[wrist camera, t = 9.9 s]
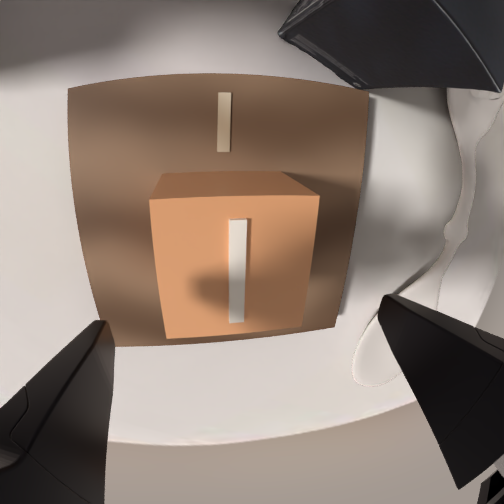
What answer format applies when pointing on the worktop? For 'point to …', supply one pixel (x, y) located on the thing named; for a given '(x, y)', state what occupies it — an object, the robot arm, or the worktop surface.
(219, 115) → the base plate
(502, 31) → the small box
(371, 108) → the worktop surface
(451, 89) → the spoon
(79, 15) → the worktop surface
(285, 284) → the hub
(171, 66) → the worktop surface
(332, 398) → the worktop surface
